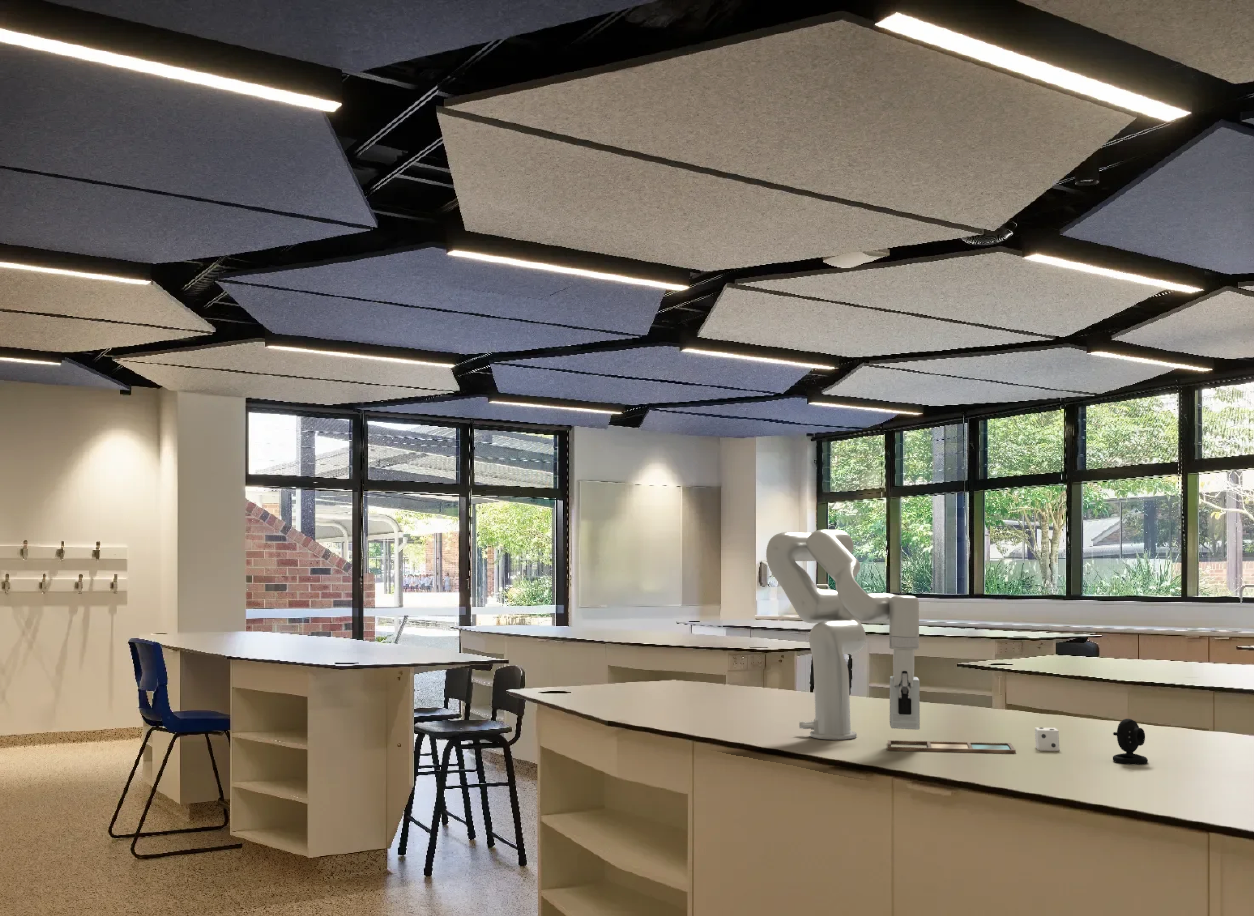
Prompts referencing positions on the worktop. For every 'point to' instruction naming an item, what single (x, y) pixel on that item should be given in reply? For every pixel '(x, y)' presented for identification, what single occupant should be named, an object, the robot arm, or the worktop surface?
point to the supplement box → (914, 719)
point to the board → (954, 746)
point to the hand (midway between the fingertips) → (904, 711)
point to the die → (1047, 739)
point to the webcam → (1129, 742)
